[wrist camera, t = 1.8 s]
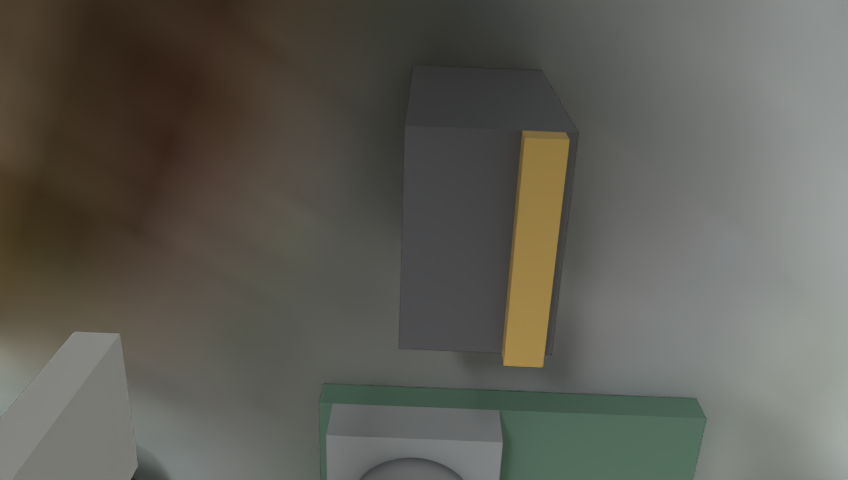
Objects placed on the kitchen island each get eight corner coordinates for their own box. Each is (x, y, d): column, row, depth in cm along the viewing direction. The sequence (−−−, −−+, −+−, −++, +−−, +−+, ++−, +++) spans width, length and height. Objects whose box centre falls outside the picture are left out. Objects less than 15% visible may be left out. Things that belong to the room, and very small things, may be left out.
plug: (413, 65, 24) (404, 133, 17) (541, 70, 24) (583, 140, 17) (408, 240, 27) (397, 361, 20) (523, 244, 27) (554, 367, 20)
